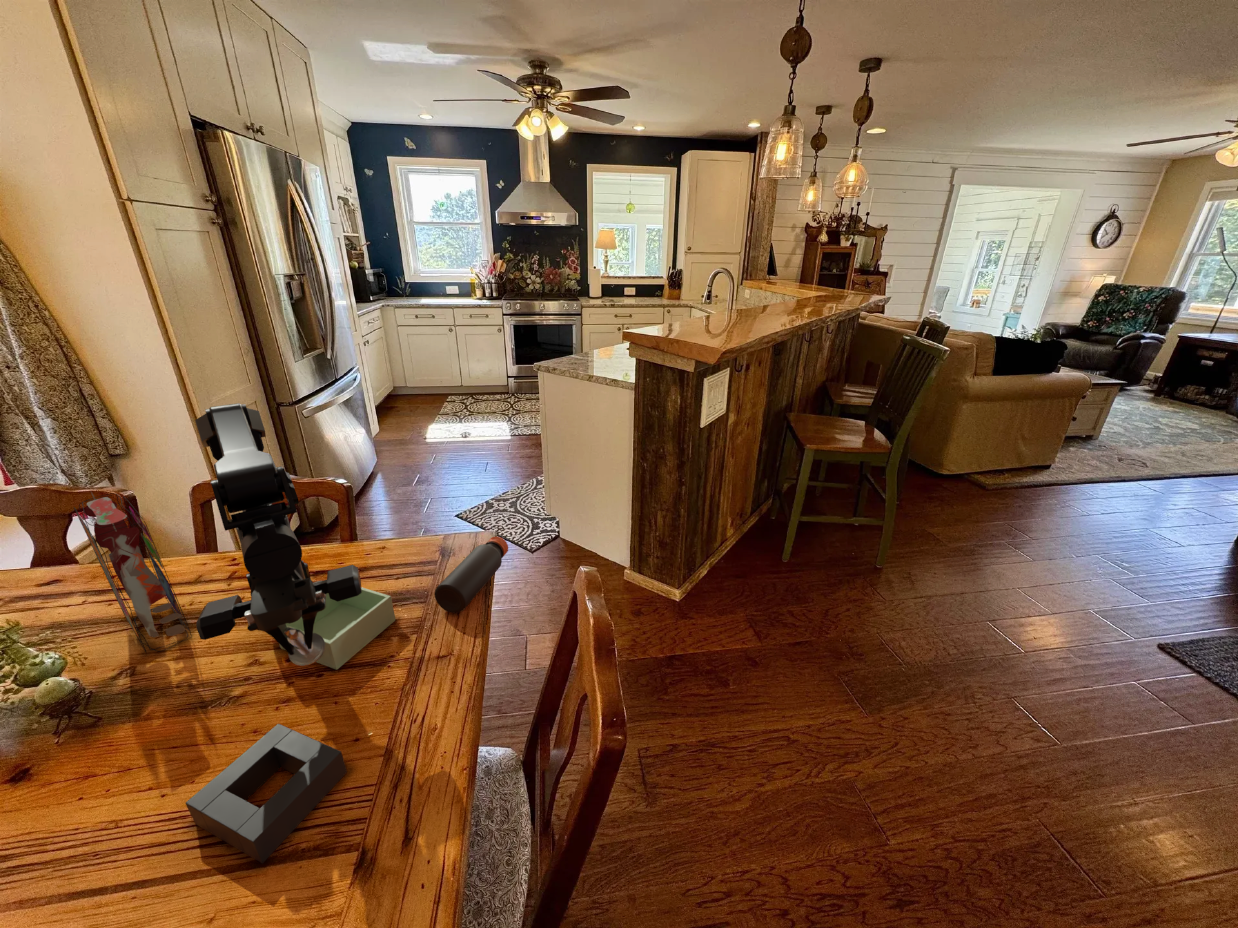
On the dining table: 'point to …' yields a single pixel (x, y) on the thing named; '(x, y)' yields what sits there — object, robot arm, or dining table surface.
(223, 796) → the gray rectangular frame
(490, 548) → the bottle
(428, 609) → the dining table surface
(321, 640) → the screw
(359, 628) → the parts bin
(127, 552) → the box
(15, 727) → the dining table surface
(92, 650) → the dining table surface
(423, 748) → the dining table surface
